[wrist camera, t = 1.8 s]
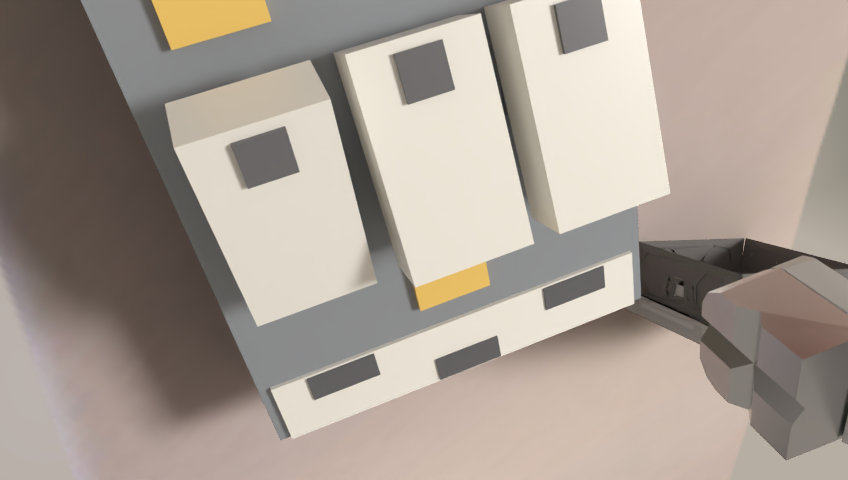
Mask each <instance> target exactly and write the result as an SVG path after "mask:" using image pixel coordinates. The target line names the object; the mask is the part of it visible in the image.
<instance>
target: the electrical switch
mask: <svg viewBox="0 0 848 480" xmlns="http://www.w3.org/2000/svg"><path fill="white" fill-rule="evenodd" d="M743 244H744V239H711V240H679V241H647V242H639V258H640V282H641V298H639V299H637V300H634V304H632V305H630V306H627V307H625V309H627V310H629V311H631V312H633V313H635V314H637V315H639V316H642V317H644V318H646V319H648V320H650V321H652V322H654V323H656V324H658V325H660V326H663V327H665V328H667V329H669V330H671V331H673V332H675V333H677V334H679V335H681V336H683V337H685V338H687V339H690V340H692V341H694V342H696V343H698V344H700V339H701V338H702V336H703V335H704V333H705V332H706V330H707V328H708V327H709V325H710V323H709V322H708V321H707V320H706V319H704V318H703V317H702V316H701V315H702V302H703V300H704V298H705V296H706V295H707V293H708V292H710V291H713V290H715V289H718V288H720V287H723V286H725V285H728V284H730V283H733V282H736V281H738V280H741V279H743V278H746V277H748V276H751V275H753V274H756V273H759V272H761V271H764V270H768V269H770V268H772V267H774V266H777V265H779V264H782V263H785V262H787V261H790V260H792V259H795V258H797V257H800V256H803V255H804V256H808V257H812V258H815V259H817V260H819V261H820V262H822V263H823V264H825V265H826V266H828V267H829V268H831V269H833V270H834V271H836V272H837V273H839V274H840V275H842V276H843V277H845V278H846V279H848V264H845V263H841V262H837V261H833V260H828V259H825V258H821V257H817V256H813V255H809V254H806V253H802V252H798V251H794V250H790V249H786V248H782V247H778V246H774V245H770V244H767V243H763V242H759V241H755V240H751V239H747V238H746V240H745V245H744V250H743ZM714 246H715V247H714ZM660 248H661V249H660ZM669 249H670V250H669ZM671 250H674V251H675V253H674V252H673V251H671ZM729 251H730V253H729ZM742 254H743V256H742ZM705 255H706V256H705ZM704 256H705V258H704V259H703V257H704ZM702 259H703V260H702Z"/></svg>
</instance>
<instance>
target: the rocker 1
mask: <svg viewBox="0 0 848 480" xmlns="http://www.w3.org/2000/svg"><path fill="white" fill-rule="evenodd" d="M165 108H166V113H167V118H168V123H169V127H170V132H171V137H172V142H173V147H174V150H175V152H176V154H177V156H178V158H179V161H180V163H181V165H182V167H183V169H184V171H185V173H186V175H187V178H188V180H189V182H190V184H191V186H192V188H193V190H194V192H195V195H196V197H197V199H198V201H199V203H200V205H201V207H202V210H203V212H204V214H205V216H206V218H207V220H208V222H209V224H210V227H211V229H212V231H213V233H214V235H215V237H216V239H217V241H218V244H219V246H220V248H221V250H222V252H223V254H224V256H225V258H226V261H227V263H228V265H229V267H230V269H231V271H232V273H233V276H234V278H235V280H236V282H237V284H238V286H239V288H240V290H241V293H242V295H243V297H244V299H245V301H246V303H247V305H248V307H249V310H250V312H251V314H252V316H253V318H254V320H255V322H256V325H257V327H258V326H261V325H264V324H267V323H269V322H272V321H275V320H278V319H280V318H283V317H286V316H289V315H291V314H294V313H297V312H300V311H302V310H305V309H308V308H311V307H313V306H316V305H319V304H321V303H324V302H327V301H330V300H332V299H335V298H338V297H341V296H343V295H346V294H349V293H352V292H354V291H357V290H360V289H363V288H365V287H368V286H371V285H374V284H376V283H377V279H376V276H375V272H374V268H373V264H372V260H371V256H370V252H369V248H368V244H367V240H366V236H365V232H364V228H363V225H362V221H361V217H360V213H359V209H358V205H357V201H356V197H355V193H354V189H353V185H352V181H351V178H350V174H349V170H348V166H347V162H346V158H345V154H344V150H343V146H342V142H341V138H340V134H339V130H338V127H337V123H336V119H335V115H334V111H333V107H332V103H331V99H330V97H329V95H328V93H327V91H326V90H325V88H324V86H323V84H322V82H321V80H320V78H319V76H318V74H317V72H316V70H315V69H314V67H313V65H312V63H311V61H310V60H307V61H304V62H301V63H298V64H294V65H291V66H288V67H284V68H281V69H278V70H274V71H271V72H268V73H265V74H261V75H258V76H255V77H251V78H248V79H245V80H241V81H238V82H235V83H232V84H228V85H225V86H222V87H218V88H215V89H212V90H208V91H205V92H202V93H199V94H195V95H192V96H189V97H185V98H182V99H179V100H175V101H172V102H169V103H166V104H165Z"/></svg>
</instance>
